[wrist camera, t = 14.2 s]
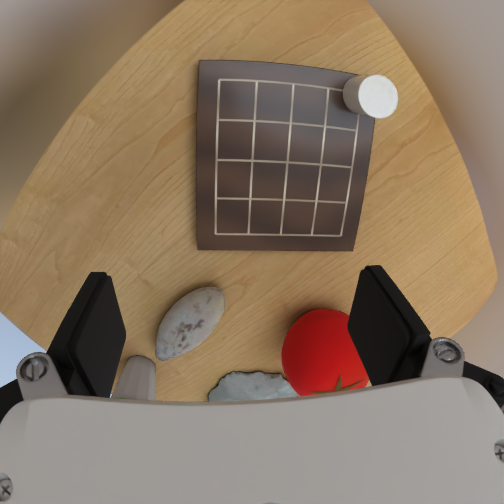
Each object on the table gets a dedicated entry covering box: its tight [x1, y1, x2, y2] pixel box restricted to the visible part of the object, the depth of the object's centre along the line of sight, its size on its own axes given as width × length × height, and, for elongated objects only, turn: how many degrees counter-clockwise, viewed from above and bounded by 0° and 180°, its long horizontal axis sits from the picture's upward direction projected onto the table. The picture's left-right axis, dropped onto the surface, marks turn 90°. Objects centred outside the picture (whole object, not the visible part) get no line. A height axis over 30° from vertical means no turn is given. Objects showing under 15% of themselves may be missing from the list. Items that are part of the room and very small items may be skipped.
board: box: [196, 60, 375, 251], centre depth 31 cm, size 20×18×2 cm
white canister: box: [343, 75, 398, 119], centre depth 26 cm, size 4×4×4 cm
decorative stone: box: [155, 287, 225, 361], centre depth 39 cm, size 6×16×3 cm, turn 144°
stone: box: [208, 371, 298, 402], centre depth 49 cm, size 16×4×15 cm
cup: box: [111, 355, 156, 401], centre depth 38 cm, size 8×8×15 cm
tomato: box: [282, 308, 369, 396], centre depth 38 cm, size 12×12×13 cm
